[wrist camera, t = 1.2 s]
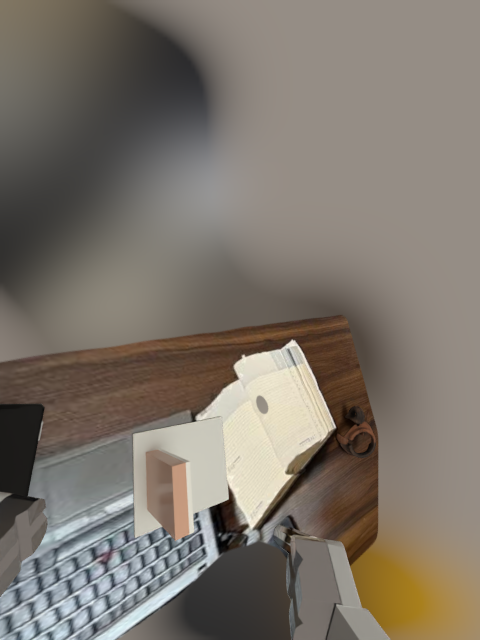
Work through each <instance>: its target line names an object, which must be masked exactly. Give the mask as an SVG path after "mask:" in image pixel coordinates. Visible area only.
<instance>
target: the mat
mask: <svg viewBox="0 0 480 640" xmlns="http://www.w3.org/2000/svg"><path fill="white" fill-rule="evenodd" d="M157 449H163V450H165V451H168V452H170V453H172V454H174V455H177V456H179V457H181V458H183V459H186V460H188V461H190V470H191V488H192V506H193V514H194V513H197V512H199V511H202V510H204V509H206V508H209V507H211V506H214V505H216V504H219V503H221V502H223V501H226V500H228V499H229V496H228V484H227V472H226V460H225V448H224V435H223V423H222V417H216V418H211V419H206V420H201V421H196V422H190V423H185V424H180V425H175V426H170V427H165V428H160V429H155V430H150V431H145V432H139V433H134V434H133V490H134V537H135V538H136V537H138V536H141V535H143V534H146V533H148V532H150V531H153V530H155V529H158V528H160V527H162V525H161V524H160V523H159V522H158V521H157V520H156V519H155V518H154V517H153V516H152V515H151V513H150V512H149V511H148V510H147V485H146V452H149V451H153V450H157Z"/></svg>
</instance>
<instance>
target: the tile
mask: <svg viewBox="0 0 480 640" xmlns="http://www.w3.org/2000/svg"><path fill="white" fill-rule="evenodd" d="M146 485H147V510H148V511H149V512H150V513H151V515H152V516H153V517H154V518H155V519H156V520H157V521H158V522H159V523H160V524H161V525H162V527H163V528H164V529H165V530H166V531H167V532H168V533H169V534H170V535H171V536H172V538H173V539H174V540H175V541H176V540H178V539H180V538H182V537H184V536H187V535H189V534H191V533H193V532H194V523H193V506H192V488H191V470H190V461H188V460H186V459H183V458H181V457H179V456H177V455H174V454H172V453H170V452H168V451H165V450H163V449H157V450H153V451H149V452H146Z"/></svg>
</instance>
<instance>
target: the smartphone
mask: <svg viewBox="0 0 480 640" xmlns="http://www.w3.org/2000/svg"><path fill="white" fill-rule="evenodd" d="M44 408H45V407H44V406H43V405H42V404H0V492H5V493H12V494H17V495H23V496H28V491H29V486H30V481H31V475H32V470H33V465H34V460H35V455H36V449H37V444H38V441H40V436H41V430H42V425H43V421H42V418H43V413H44Z"/></svg>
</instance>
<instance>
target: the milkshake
mask: <svg viewBox="0 0 480 640" xmlns="http://www.w3.org/2000/svg"><path fill="white" fill-rule="evenodd" d="M273 535H274V541H275V542H276V543H277V545H279V546H280V547H281V548H283V549H284V550H285V551H286V552H288V553H291V545H290V543H291V538H292V536H293V535H298V536H305V537H313V538H316V537H314V536H311V535H308V534H306V533H303V532H300V531H298V530H295V529H293V528H290V527H288V526H285V525H283V524H279V525H278V526H277V527H276V528H275V531H274V534H273Z"/></svg>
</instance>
